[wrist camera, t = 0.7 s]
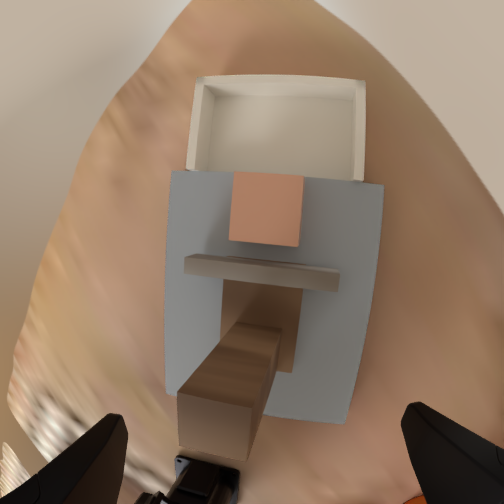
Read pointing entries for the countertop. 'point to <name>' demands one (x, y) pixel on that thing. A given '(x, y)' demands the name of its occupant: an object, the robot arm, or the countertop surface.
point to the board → (313, 301)
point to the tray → (279, 126)
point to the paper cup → (417, 500)
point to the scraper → (244, 349)
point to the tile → (267, 208)
